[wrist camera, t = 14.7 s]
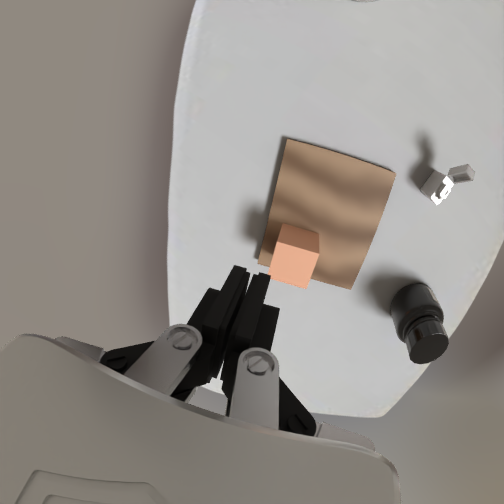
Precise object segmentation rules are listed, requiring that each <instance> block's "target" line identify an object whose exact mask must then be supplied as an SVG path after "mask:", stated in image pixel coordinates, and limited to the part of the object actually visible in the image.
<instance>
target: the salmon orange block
mask: <svg viewBox="0 0 504 504" xmlns="http://www.w3.org/2000/svg"><path fill="white" fill-rule="evenodd" d="M318 257H319V234H318V233H315V232H312V231H308V230H305V229H301V228H298V227H294V226H291V225H288V224H284V223H283V224H282V227H281V230H280V234H279V237H278V240H277V243H276V247H275V250H274V254H273V258H272V261H271V265H270V268H269V272H268V275H271V278H270V279H273V280H277V281H280V282H284V283H287V284H291V285H294V286H298V287H301V288H305V289H306V288H307V286H308V283H309V281H310V278H311V275H312V273H313V270H314V267H315V265H316V262H317V259H318Z"/></svg>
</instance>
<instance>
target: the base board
mask: <svg viewBox="0 0 504 504" xmlns="http://www.w3.org/2000/svg"><path fill="white" fill-rule="evenodd" d="M395 176H396V173H395V172H392V171H390V170H387V169H384V168H382V167H379V166H376V165H374V164H371V163H368V162H365V161H362V160H359V159H356V158H353V157H350V156H347V155H344V154H341V153H338V152H335V151H331V150H328V149H325V148H321V147H318V146H314V145H310V144H307V143H303V142H299V141H295V140H291V139H287V142H286V146H285V150H284V155H283V159H282V163H281V167H280V172H279V176H278V180H277V184H276V189H275V193H274V197H273V201H272V205H271V210H270V214H269V218H268V222H267V226H266V230H265V235H264V239H263V243H262V247H261V251H260V255H259V259H258V263H257V264H260V265H264V266H267V267H270V265H271V261H272V258H273V254H274V250H275V247H276V243H277V240H278V237H279V234H280V230H281V227H282V224H283V223H284V224H288V225H291V226H294V227H298V228H301V229H305V230H308V231H312V232H315V233H318V234H319V257H318V259H317V262H316V265H315V267H314V270H313V273H312V275H311V278H310V279H314V280H317V281H321V282H324V283H328V284H332V285H335V286H339V287H343V288H346V289H350V290H351V288H352V286H353V284H354V282H355V279H356V277H357V275H358V273H359V271H360V268H361V266H362V264H363V261H364V259H365V257H366V254H367V252H368V250H369V247H370V245H371V242H372V240H373V237H374V235H375V232H376V230H377V227H378V225H379V222H380V219H381V217H382V214H383V211H384V209H385V206H386V203H387V200H388V197H389V194H390V191H391V189H392V186H393V182H394V179H395Z"/></svg>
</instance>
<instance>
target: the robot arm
mask: <svg viewBox="0 0 504 504" xmlns="http://www.w3.org/2000/svg"><path fill="white" fill-rule="evenodd" d="M354 1H362V2H370V1H377V0H354ZM246 270H247V269H246V268H243V267H240V266H236V265H234V267H233V269H232V270H231V272H230V274H229V276H228V278H227V280H226V281H225V283H224V285H223V287H222V289H221V291H219V290H216V289H212V288H209V289H208V290H207V292H206V293H205V295H204V296H203V298H202V300H201V301H200V303H199V305H198V306H197V308H196V310H195V311H194V313H193V315H192V316H191V318H190V320H189V321H188V323H187V324H176V325H173V326H170V327H169V328H167V329H166V330H165V331H164V333H162V334H161V335H160V336H159V338H158V339H157V340H156V341H152V342H147V343H143V344H138V345H134V346H128V347H124V348H119V349H114V350H111V351H108V352H106V351H104V349H103V348H100V347H97V346H94V345H90V344H87V343H83V342H80V341H77V340H74V339H71V338H68V337H63V336H62V337H58V338H56V339H52V338H50V337H46V336H42V335H37V334H22V335H19V336H17V337H15V338H13V339H12V340H10V341H9V342H8V343H7V344H6V345H4V346H3V347H2V348H1V349H0V504H401V489H400V481H399V476H398V473H397V470H396V468H395V466H394V465H393V464H392V462H391V461H389V460H388V459H387V458H385V457H384V456H382V455H380V454H378V453H377V452H375V447H374V444H373V442H372V441H371V440H370V439H369V438H367V437H365V436H362V435H359V434H356V433H353V432H350V431H347V430H344V429H341V428H339V427H336V426H333V425H330V424H328V423H325V422H323V423H322V424H321V423H318V422H316V421H315V420H314V418H313V417H312V415H311V414H310V413H309V412H308V411H307V409H306V408H305V407H304V406H303V405H302V404H301V402H300V401H299V400H298V399H297V398H296V397H295V395H294V394H293V393H292V392H291V391H290V389H289V388H288V387H287V386H286V385H285V383H284V382H283V381H282V380H281V379H280V377H279V363H278V360H277V358H276V357H275V356H274V355H273V354H272V353H271V352H270V351H271V347H272V342H273V338H274V333H275V329H276V324H277V320H278V315H279V310H280V308H276V307H273V306H269V305H266V304H263V302H264V299H265V295H266V292H267V289H268V285H269V282H270V278H271V275H267V274H264V273H260V272H259V275H256V274H254V275H253V277H252V280H251V282H250V285H249V287H248V290H247V286H248V281H249V277H250V273H249V272H246ZM246 290H247V292H246ZM245 294H246V295H245ZM223 361H224V363H223ZM222 363H223V368H222V373H221V378H220V380H223V384H222V391H223V392H224V394H225V395H226V397H227V398H228V399H227V404H226V410H225V416H223V415H220V414H217V413H214V412H211V411H208V410H205V409H202V408H199V407H196V406H194V405H191V404H188V402H189V401H190V399H191V398H192V396H193V395H194V394H195V392H196V390H197V388H198V386H201V385H204V384H206V383H210V380H211V378H212V377H213V378H217V376H218V373H219V371H220V368H221V366H222Z"/></svg>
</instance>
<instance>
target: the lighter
mask: <svg viewBox="0 0 504 504" xmlns="http://www.w3.org/2000/svg"><path fill="white" fill-rule="evenodd" d="M474 175H475V171H474V170H473V169H472V168H471V166H470V165H469V164H466V165H462V166H458V167H454V168H450V170H449V173H448V175H447V176H446V175H444V174H442V173H440V172H437V171H433V173H432V174H431V176H430V177H429V178H428V180H427V181H426V182H425V184H424V185H423V186H422V188H421V189H420V191H421V192H422V193H423V194H424V195H425V196H426V197H428V198H429V199H430V200H431V201H433V202H434V203H435V204H437V205H439V203H440V202H441V201H442V199H445V198H446V196H447V195H448V194H449V192H450V191H451V187H452V186H453V183H454V184H456V183H462V182H468V181H473V178H474Z"/></svg>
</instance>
